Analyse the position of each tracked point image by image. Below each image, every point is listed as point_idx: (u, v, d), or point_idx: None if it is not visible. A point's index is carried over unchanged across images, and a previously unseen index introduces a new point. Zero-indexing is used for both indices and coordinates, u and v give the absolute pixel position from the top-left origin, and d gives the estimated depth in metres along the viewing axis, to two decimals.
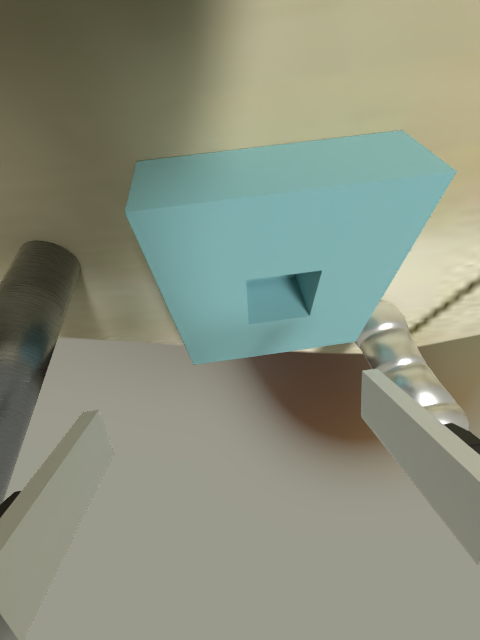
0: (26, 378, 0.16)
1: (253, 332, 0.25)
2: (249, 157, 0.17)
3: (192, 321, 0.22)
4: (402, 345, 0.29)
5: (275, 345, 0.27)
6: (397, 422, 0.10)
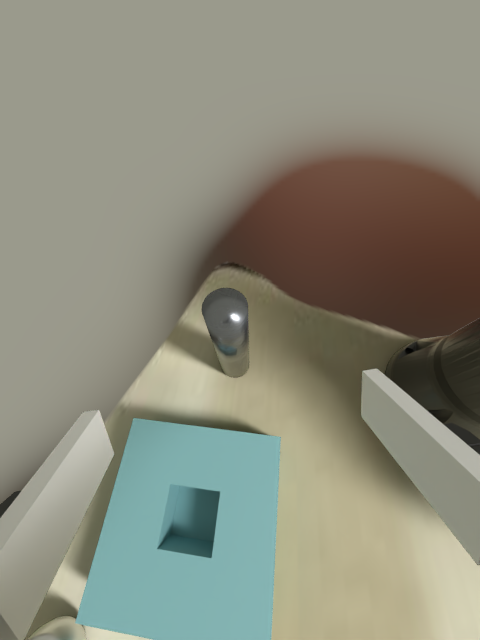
0: (231, 352, 0.30)
1: (156, 487, 0.29)
2: None
3: (192, 439, 0.31)
4: None
5: (123, 507, 0.28)
6: (397, 422, 0.10)
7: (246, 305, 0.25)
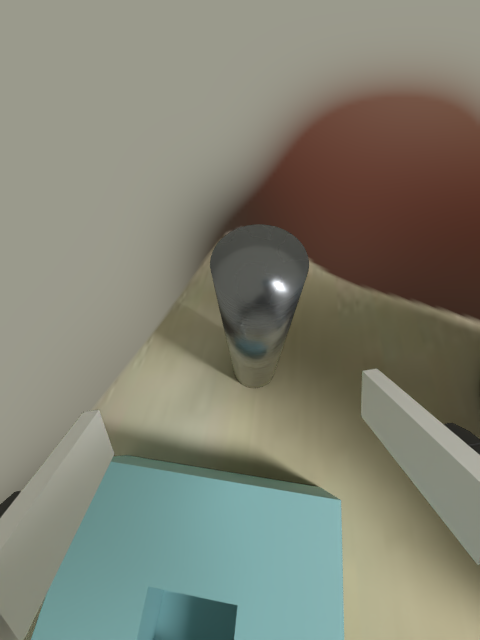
0: (259, 354, 0.17)
1: (123, 592, 0.16)
2: None
3: (189, 500, 0.18)
4: None
5: (61, 631, 0.15)
6: (397, 422, 0.10)
7: (305, 257, 0.12)
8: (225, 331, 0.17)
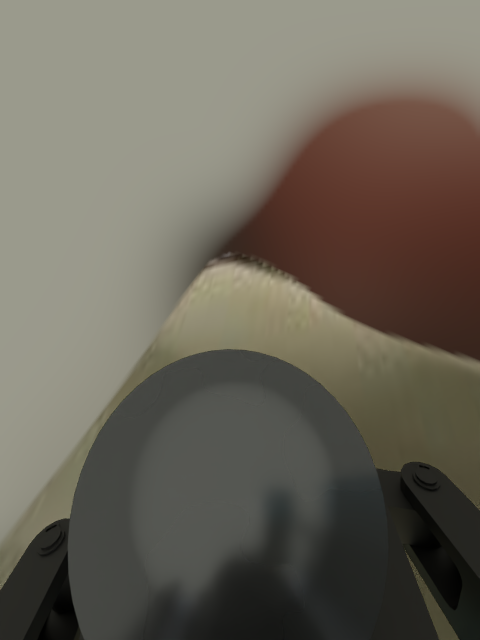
0: None
1: None
2: None
3: None
4: None
5: None
6: None
7: (370, 483, 0.04)
8: None
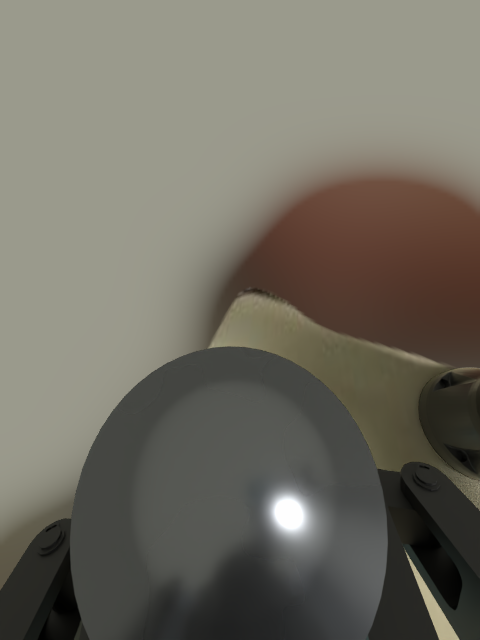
0: None
1: None
2: None
3: None
4: None
5: None
6: None
7: (370, 479, 0.04)
8: None
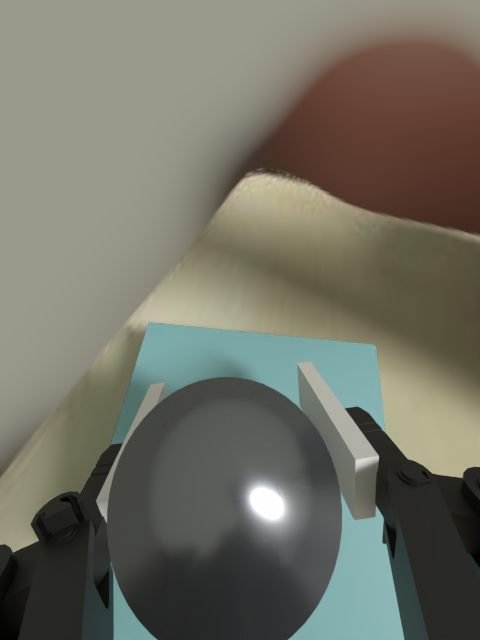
0: None
1: None
2: None
3: (240, 348, 0.20)
4: None
5: None
6: (314, 407, 0.12)
7: (331, 483, 0.05)
8: None
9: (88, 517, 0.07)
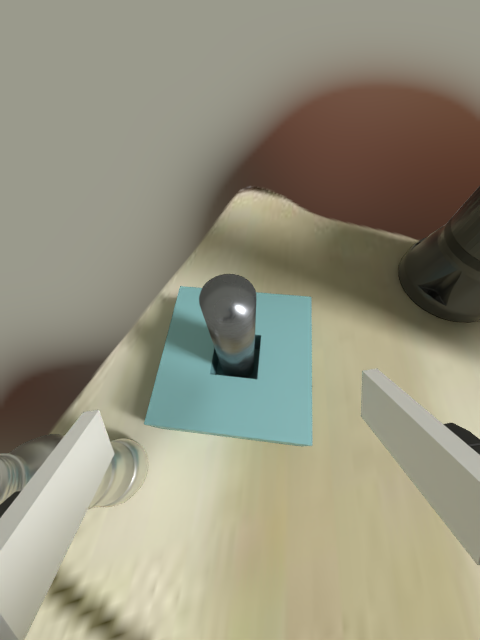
0: (234, 353, 0.25)
1: (205, 333, 0.33)
2: None
3: None
4: (120, 478, 0.25)
5: (177, 347, 0.32)
6: (397, 422, 0.10)
7: (254, 295, 0.20)
8: (211, 338, 0.25)
9: None
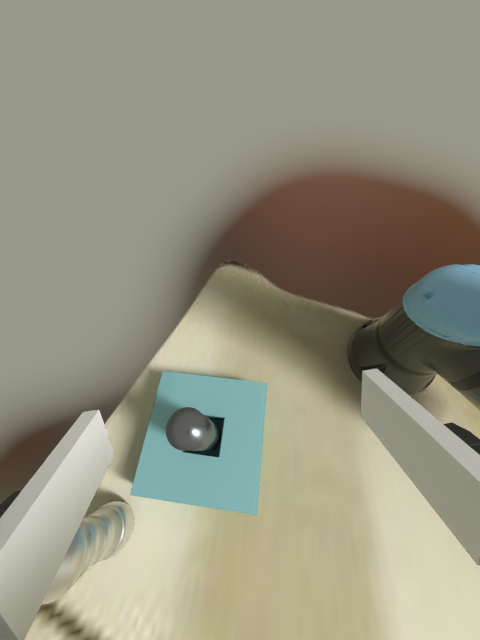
0: (197, 450, 0.33)
1: None
2: None
3: (205, 384, 0.43)
4: (110, 542, 0.34)
5: (158, 427, 0.41)
6: (397, 422, 0.10)
7: (204, 426, 0.28)
8: None
9: None
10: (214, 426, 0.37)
